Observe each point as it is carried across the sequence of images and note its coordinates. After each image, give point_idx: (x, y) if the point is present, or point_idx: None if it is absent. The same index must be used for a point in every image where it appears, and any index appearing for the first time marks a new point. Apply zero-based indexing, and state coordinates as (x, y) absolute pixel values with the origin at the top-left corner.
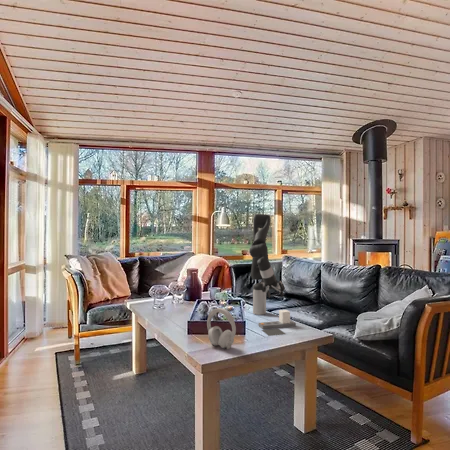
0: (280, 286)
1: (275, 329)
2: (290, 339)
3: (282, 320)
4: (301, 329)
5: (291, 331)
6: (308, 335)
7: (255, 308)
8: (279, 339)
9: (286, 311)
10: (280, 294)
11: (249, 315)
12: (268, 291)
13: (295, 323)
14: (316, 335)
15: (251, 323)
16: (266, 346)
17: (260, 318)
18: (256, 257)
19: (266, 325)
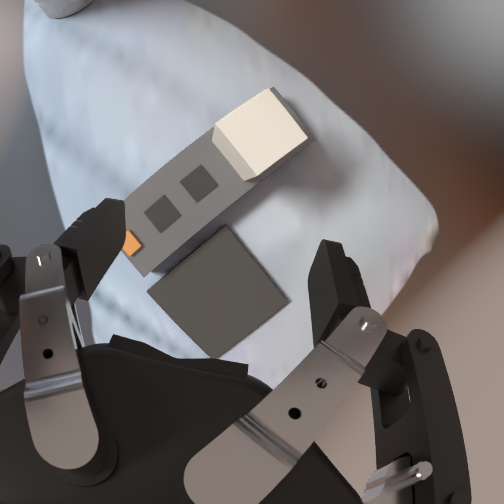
0: (385, 464)
1: (214, 248)
2: (312, 347)
3: (245, 178)
4: (339, 174)
5: (299, 228)
6: (377, 259)
7: (43, 4)
8: (267, 367)
9: (280, 137)
10: (314, 316)
11: (29, 47)
12: (79, 269)
13: (312, 141)
14: (404, 244)
15: (56, 173)
16: None
17: (83, 60)
18: None
19: (160, 260)
